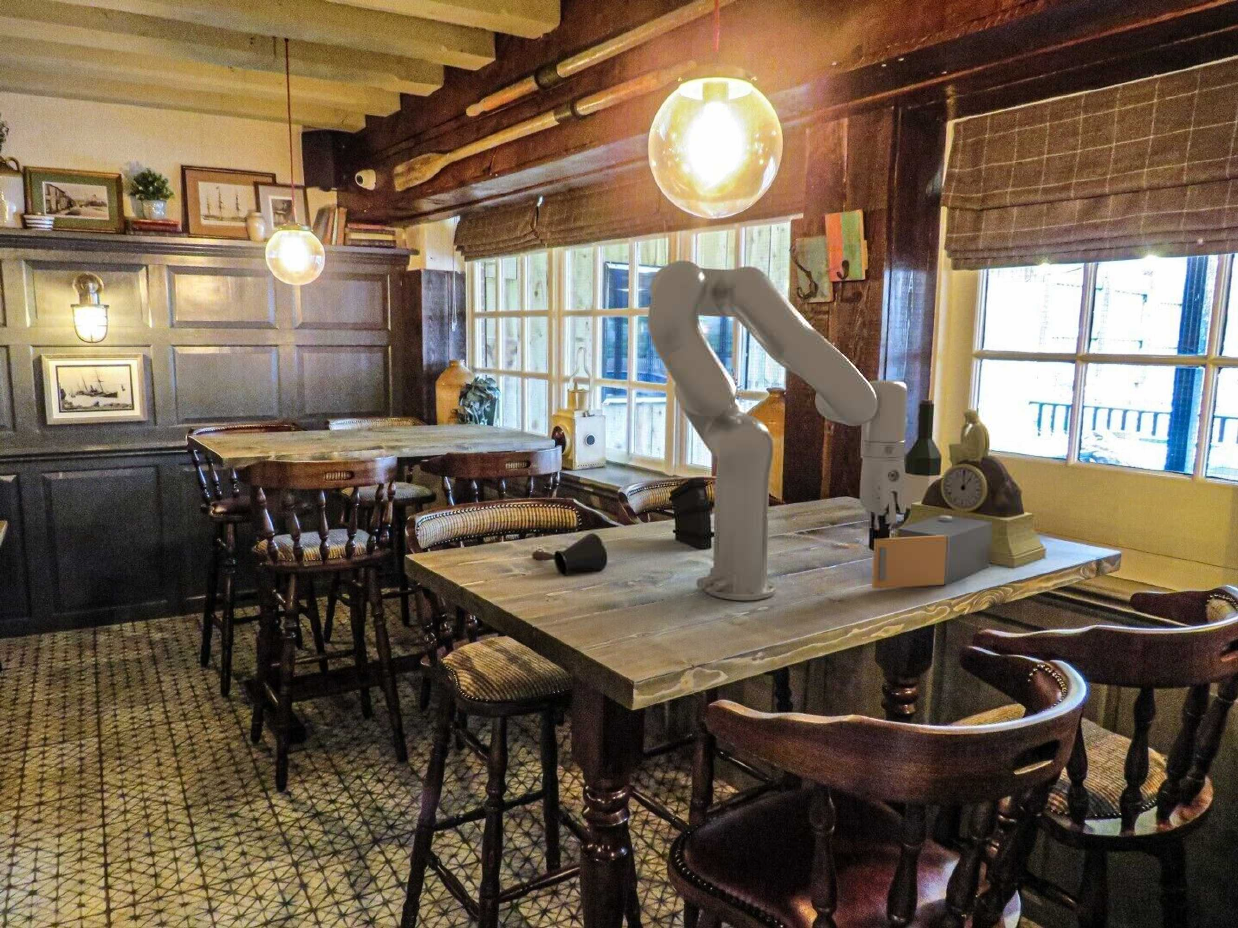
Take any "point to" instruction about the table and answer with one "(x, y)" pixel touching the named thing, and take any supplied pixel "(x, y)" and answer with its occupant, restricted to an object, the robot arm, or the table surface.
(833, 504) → the table surface
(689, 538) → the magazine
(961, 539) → the grey box with knob
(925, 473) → the wine bottle
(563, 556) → the coffee pot
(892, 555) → the side door
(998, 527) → the decorative clock
